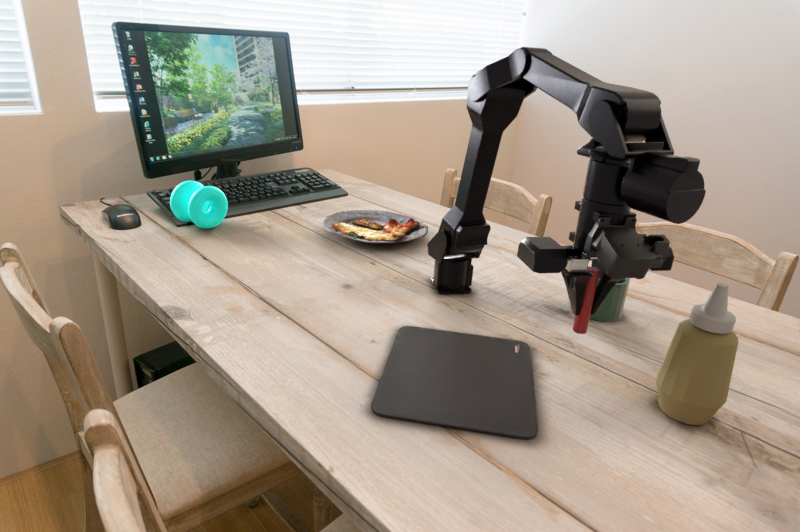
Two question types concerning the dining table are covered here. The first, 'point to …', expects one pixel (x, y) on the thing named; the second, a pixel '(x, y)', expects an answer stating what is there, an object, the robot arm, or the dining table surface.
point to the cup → (613, 303)
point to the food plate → (375, 226)
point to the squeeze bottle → (699, 362)
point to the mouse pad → (459, 382)
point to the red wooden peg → (586, 303)
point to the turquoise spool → (199, 204)
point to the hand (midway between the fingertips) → (582, 313)
